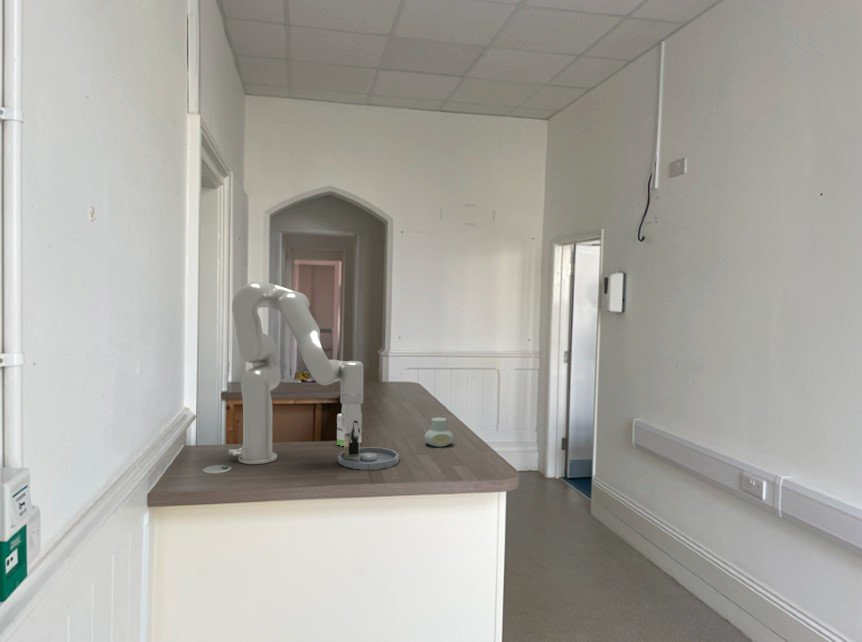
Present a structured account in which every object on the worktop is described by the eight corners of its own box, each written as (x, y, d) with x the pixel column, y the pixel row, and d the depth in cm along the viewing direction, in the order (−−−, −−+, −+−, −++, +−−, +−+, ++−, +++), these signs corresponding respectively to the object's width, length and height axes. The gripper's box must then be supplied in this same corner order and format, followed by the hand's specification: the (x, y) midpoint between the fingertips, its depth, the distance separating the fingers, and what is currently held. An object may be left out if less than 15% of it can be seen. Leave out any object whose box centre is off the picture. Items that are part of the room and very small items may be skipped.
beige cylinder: (346, 457, 193) (346, 436, 192) (342, 453, 197) (342, 433, 197) (360, 456, 194) (361, 435, 194) (357, 452, 199) (357, 432, 199)
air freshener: (426, 448, 216) (427, 421, 216) (422, 442, 225) (422, 417, 224) (455, 447, 219) (455, 420, 218) (450, 441, 227) (450, 416, 226)
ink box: (345, 447, 215) (345, 416, 215) (336, 445, 218) (336, 414, 218) (361, 443, 222) (362, 412, 222) (352, 441, 225) (352, 411, 225)
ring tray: (346, 472, 185) (346, 465, 185) (333, 456, 204) (333, 450, 204) (406, 466, 193) (406, 460, 192) (388, 451, 211) (388, 445, 211)
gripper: (335, 394, 202) (335, 446, 202) (346, 403, 186) (346, 459, 187) (356, 393, 204) (356, 445, 205) (369, 402, 189) (369, 457, 189)
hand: (351, 451), depth 196 cm, fingers closed on beige cylinder, 4 cm apart
